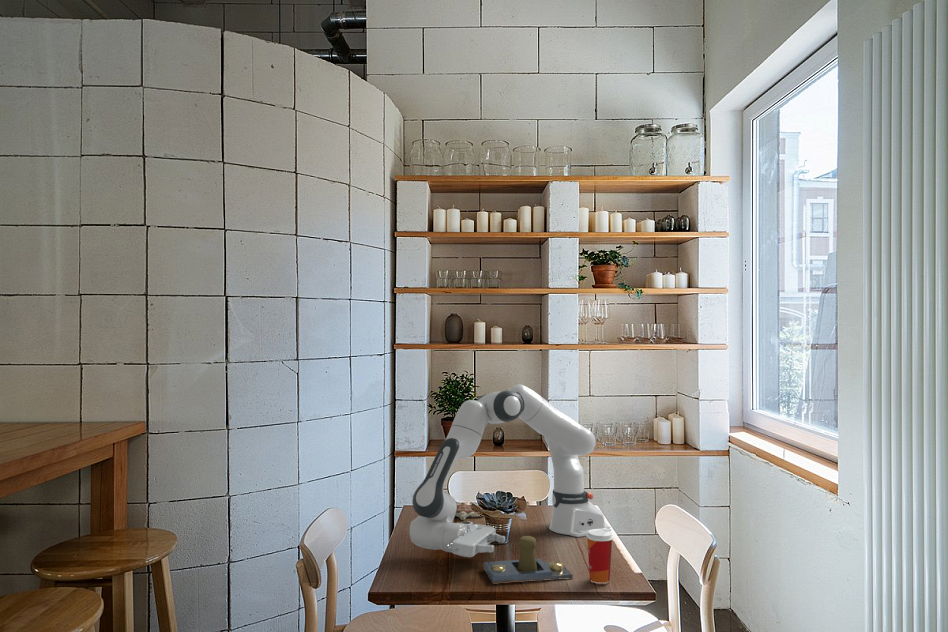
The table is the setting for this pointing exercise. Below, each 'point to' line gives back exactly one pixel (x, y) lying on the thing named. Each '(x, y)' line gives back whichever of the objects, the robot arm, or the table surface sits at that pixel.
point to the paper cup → (599, 554)
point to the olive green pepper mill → (527, 554)
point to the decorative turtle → (464, 511)
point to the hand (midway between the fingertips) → (499, 544)
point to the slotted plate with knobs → (508, 572)
